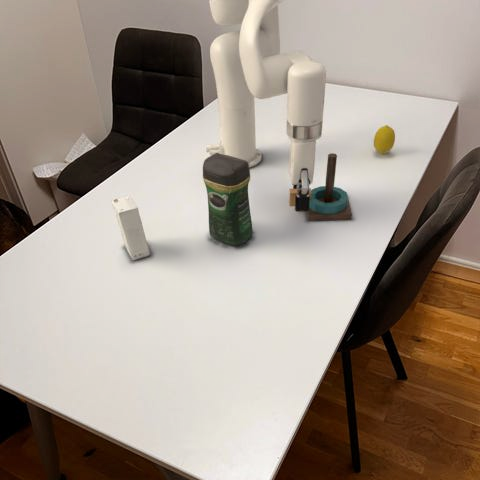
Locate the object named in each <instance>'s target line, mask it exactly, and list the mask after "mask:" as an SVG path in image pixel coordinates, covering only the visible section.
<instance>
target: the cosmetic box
mask: <svg viewBox="0 0 480 480" xmlns="http://www.w3.org/2000/svg"><path fill="white" fill-rule="evenodd" d="M111 204H112V209H113V211H114V214H115V218H116V221H117V224H118V228H119V230H120V233H121V237H122V240H123V244H124V247H125V249H126V250H127V253H128V254H129V256H130V258H131V260H132V261H135V260H140V259H143V258H146V257H148V256H151V255H150V254H151V252H150V249H149V245H148V241H147V237H146V235H145V234H146V233H145V229H144V225H143V222H142V218H141V216H140V211H139V207H138V206H137V205H136V203H135V201H134V200H133V199H132V197H131V195H125V196H122V197H119V198H115V199H112V200H111Z"/></svg>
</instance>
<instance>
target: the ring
mask: <svg viewBox="0 0 480 480" xmlns="http://www.w3.org/2000/svg"><path fill="white" fill-rule="evenodd" d="M299 191H300V189H299ZM296 195H297V189H293V188H289V199H288V201H289V202H288V203H289V207H290V208H291V207H292V208H295V197H296ZM309 195H310V202H309V208H311V209H312V210H313V211H315V212H318V213H322V214H335V213H338V212H341V211H343V210H344V209H345V208H346V206H347V204H348V200H349V196H348V192H347V191H345V190H344V189H342V188H341V187H338V186H337V187H336V186H334V191H333V198H336V199H337V200H339V201H336V202H334V203H324V202H320V201H318V200H317V199H318V198H321V197H324V195H325V185H320V186H318V187H317V186H316V187H314V188H312V187H311V188H310V187H309Z"/></svg>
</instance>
